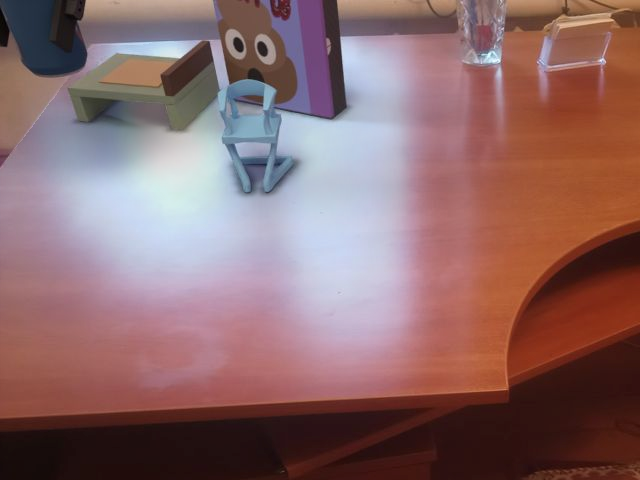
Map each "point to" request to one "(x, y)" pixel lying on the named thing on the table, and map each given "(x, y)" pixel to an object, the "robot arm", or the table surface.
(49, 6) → the soda can
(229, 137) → the chair
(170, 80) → the shelf
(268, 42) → the cereal box
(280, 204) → the table surface
